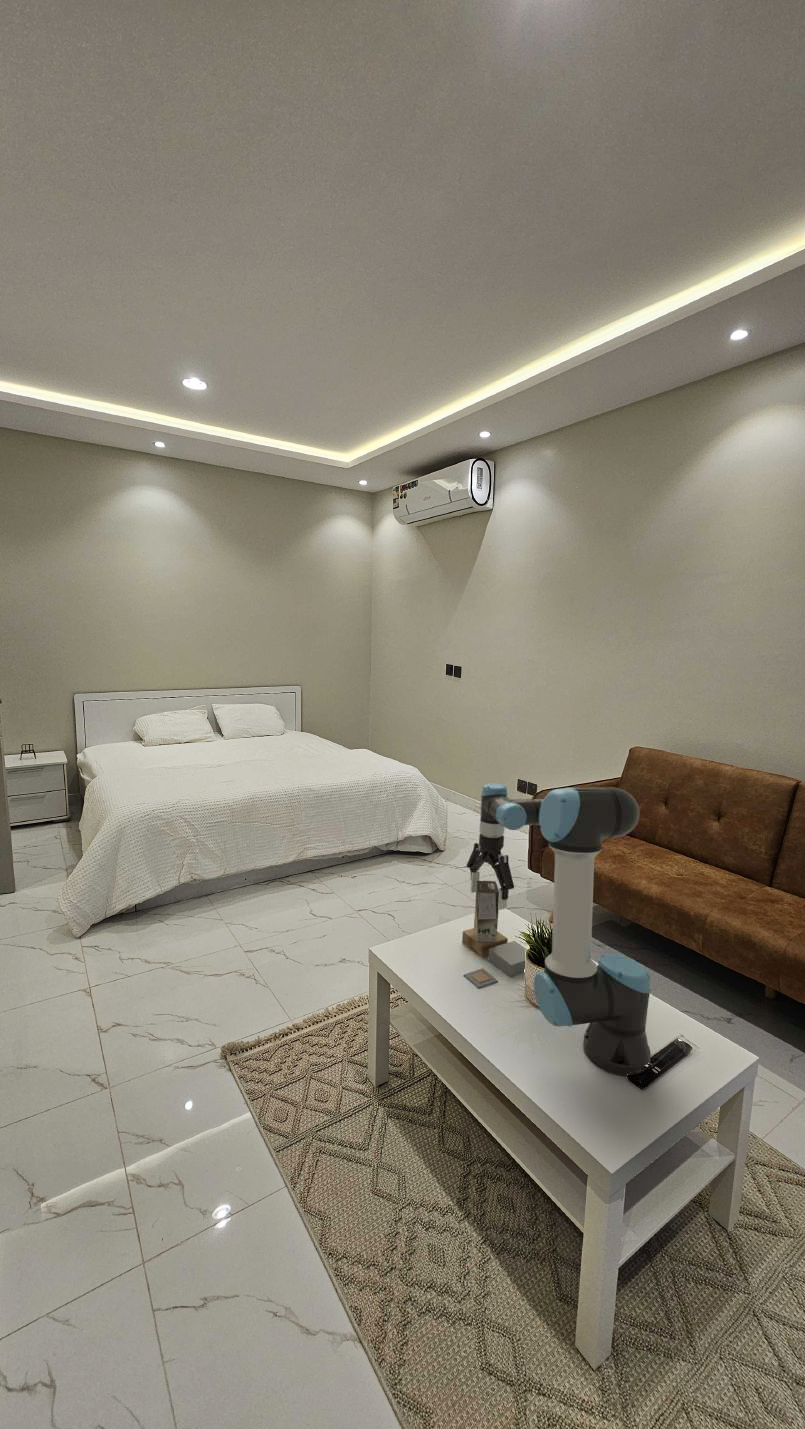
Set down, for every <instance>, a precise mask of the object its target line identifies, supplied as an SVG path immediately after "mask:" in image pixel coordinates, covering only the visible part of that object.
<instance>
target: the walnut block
mask: <svg viewBox="0 0 805 1429" xmlns="http://www.w3.org/2000/svg"><path fill="white" fill-rule="evenodd" d="M461 939H462V940H461V943H462V945H464V946H465V947H466V948H468V949H469V950H470V951H472V952H473V953H474V954H475V955H477V956H478V957H479V958H481V959H483V958H484V959H485V958H486V957H487V958H489V948H492V947H496V946H499V945H502V944H506V943H509V941H508V937H506V936H504V935H503V934H502V933H500V932H499V931H498V930H497V938H496V942H481V941H476V936H475V931H474V927H473V928H470V929H466V930H463V931H462V937H461Z"/></svg>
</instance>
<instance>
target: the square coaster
mask: <svg viewBox="0 0 805 1429" xmlns="http://www.w3.org/2000/svg"><path fill="white" fill-rule="evenodd" d="M463 977H464V978H465V979H466V980H468V981H469V982H470V983H472V985H474V986H475V987H476V988H477V989H481V988H484V987H487V986H490V985H493V984H496V983H498V982H499V980H498V979H497V978H495V977H494V976H493V975H492V974H490V973H489V972H488V971H487V970H485V968H480V969H476V970H473V971H469V972H467V973H464V974H463Z"/></svg>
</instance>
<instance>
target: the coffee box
mask: <svg viewBox="0 0 805 1429" xmlns="http://www.w3.org/2000/svg"><path fill="white" fill-rule="evenodd" d="M498 899H499V887H498V884H497V881H495V880H479V881H477V885H476V892H475V907H474V918H473V919H474V921H473V928H474V931H475V936H476V941H481V942H496V938H497V931H498V923H499V922H498V921H499V911H500V910H499V909H498Z"/></svg>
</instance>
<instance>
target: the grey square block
mask: <svg viewBox="0 0 805 1429" xmlns="http://www.w3.org/2000/svg"><path fill="white" fill-rule="evenodd" d="M526 949H527V948H525V947H524V946H522V945H521V944H520V943H519V942H517V941H516V940H513V941H508V942H507V943H506V944H502V945H499V946H496V947H492V948H489V956H488V957H487V958H488V959H487V960H488V962H489V963H490V964H492V965H493V966H494V967H496V968H497V969H498V970H500V971H501V973H503V974H505V975H506V976H507V977H508V978H510V979H511V978H513V977H517V976H520V975H522V974H525V973H524V969H525V950H526Z"/></svg>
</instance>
